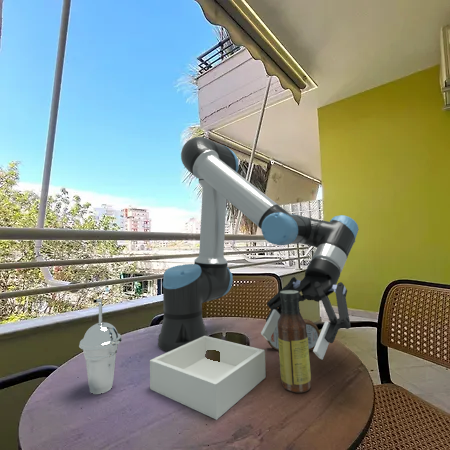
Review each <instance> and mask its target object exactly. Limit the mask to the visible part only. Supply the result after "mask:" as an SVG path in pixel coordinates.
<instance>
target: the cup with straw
mask: <svg viewBox="0 0 450 450" xmlns="http://www.w3.org/2000/svg"><path fill="white" fill-rule="evenodd" d="M92 302H93V303H94V304H97V303H98V322H97V323H95V324H93V325H91V326H90V327H89V328H88V329H87V330H86V332H85V334H84V336H83V338H82V339H80V341H79V345H78V347H79V348H80V349H81V350H82V351H83V352H82V353H83V356H84V359H85V365H86V366H85V367H86V373H87V380H88V381H87V382H88V387H89V393H90V392H91V393H93V394H92V395H102V394H105V393H107V392H108V391H110V390H111V388H112V389H113V387H112V386H113V382H114V378H115V377H114V376H115V369H116V358H117V353H118V348H119V344H121V342H122V340H123V339H122V335H121V334H120V333H119V332H118V330H117V329H116V326H114V325H113V324H112V323H109V322H103V301H102V298H97V299H93V300H92ZM91 393H90V394H91ZM101 393H102V394H101Z"/></svg>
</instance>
